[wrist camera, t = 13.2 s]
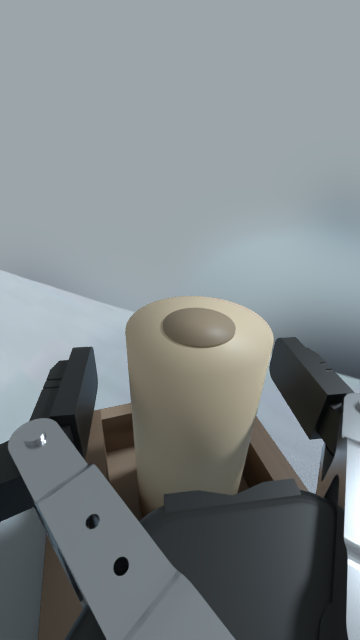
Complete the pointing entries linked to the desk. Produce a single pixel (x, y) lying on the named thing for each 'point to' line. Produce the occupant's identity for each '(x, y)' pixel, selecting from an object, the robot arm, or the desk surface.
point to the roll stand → (135, 500)
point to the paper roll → (194, 393)
